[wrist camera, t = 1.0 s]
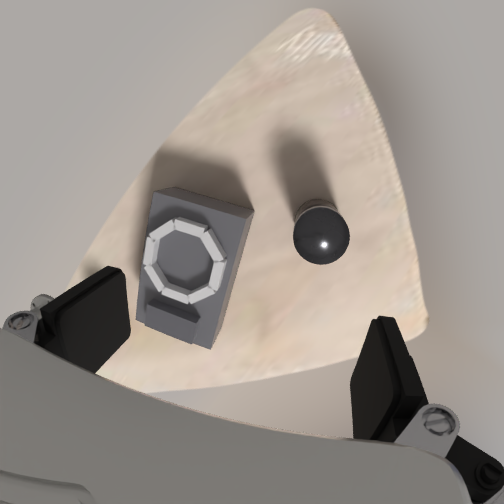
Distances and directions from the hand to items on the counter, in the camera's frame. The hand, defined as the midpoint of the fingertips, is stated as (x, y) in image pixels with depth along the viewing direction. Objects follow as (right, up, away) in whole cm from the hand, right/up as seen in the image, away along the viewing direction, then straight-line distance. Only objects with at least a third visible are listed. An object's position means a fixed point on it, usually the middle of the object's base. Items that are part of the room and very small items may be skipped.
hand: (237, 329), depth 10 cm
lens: (+8, +6, +22) cm, 24 cm away
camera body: (-6, +2, +26) cm, 26 cm away
